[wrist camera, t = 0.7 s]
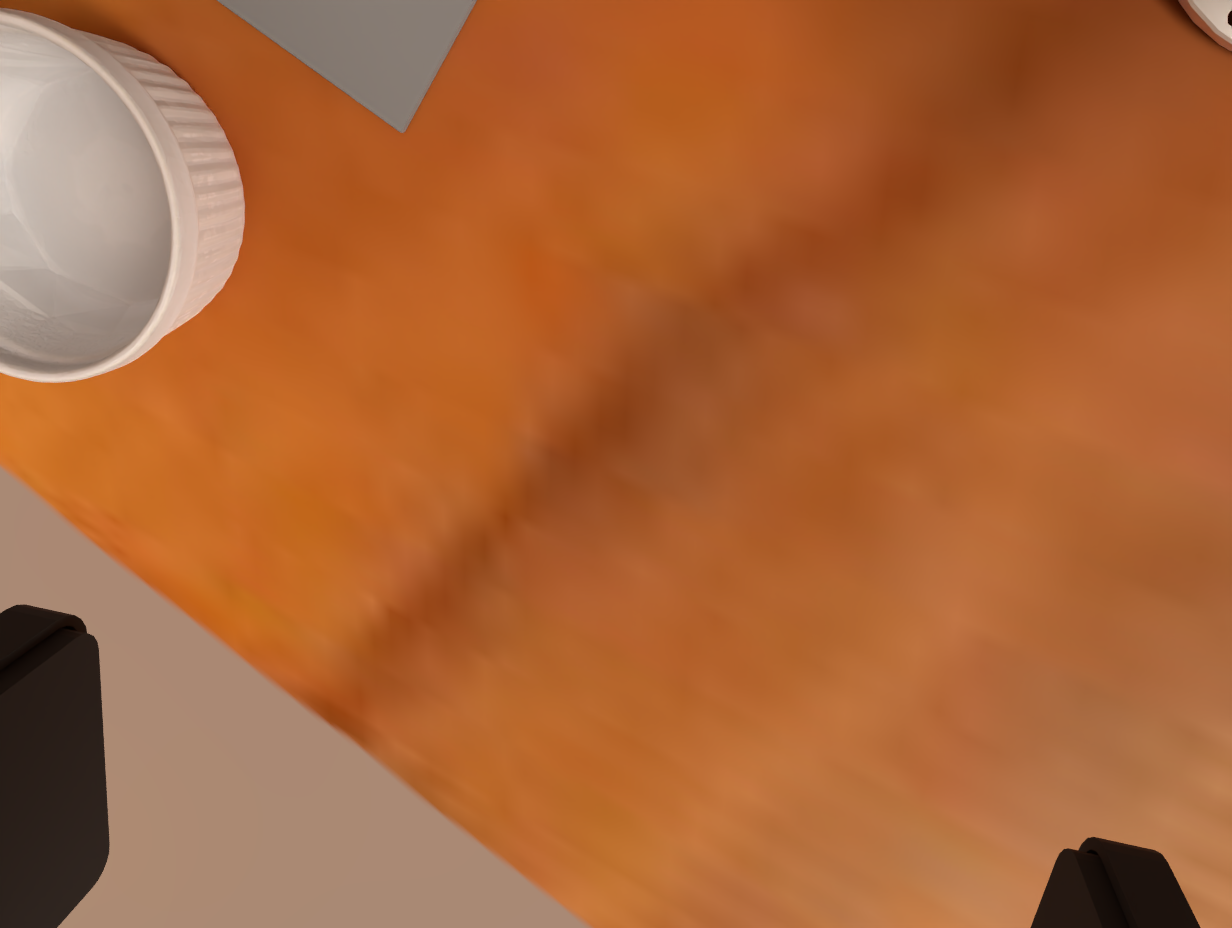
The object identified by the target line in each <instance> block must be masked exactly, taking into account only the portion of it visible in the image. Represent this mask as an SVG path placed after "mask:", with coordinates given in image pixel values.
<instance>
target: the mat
mask: <svg viewBox="0 0 1232 928" xmlns="http://www.w3.org/2000/svg"><path fill="white" fill-rule="evenodd" d="M217 1H219V2H220V3H221V4H223V5H224V6H225V7H227V8H228V9H230V10H231V11H232V12H234V13H235V14H237V15H238V16H239V17H241V18H242V19H244V20H245V21H246V22H248V23H249V24H251V25H252V26H253V27H255V28H256V29H257V30H259V31H260V32H262V33H263V34H264V35H266V36H267V37H269V38H270V39H271V40H273V41H274V42H276V43H277V44H278V45H280V46H281V47H282V48H284V49H285V50H287V51H288V52H289V53H291V54H292V55H294V56H295V57H296V58H298V59H299V60H301V61H302V62H303V63H305V64H306V65H308V66H309V67H310V68H312V69H313V70H314V71H316V72H317V73H319V74H320V75H321V76H323V77H324V78H326V79H327V80H328V81H330V82H331V83H333V84H334V85H335V86H337V87H338V88H339V89H341V90H342V91H344V92H345V93H346V94H348V95H349V96H351V97H352V98H353V99H355V100H356V101H358V102H359V103H360V104H362V105H363V106H364V107H366V108H367V109H369V110H370V111H371V112H373V113H374V114H376V115H377V116H378V117H380V118H381V119H383V120H384V121H385V122H387V123H388V124H390V125H391V126H392V127H394V128H395V129H396V130H398V131H399V132H401V133H402V132H405V131H406V129H407V127H408V125H409V123H410V121H411V120H412V118H413V116H414V114H415V112H416V110H417V109H418V107H419V105H420V103H421V101H422V100H423V98H424V96H425V94H426V92H427V90H428V89H429V87H430V85H431V83H432V81H433V79H434V78H435V76H436V74H437V72H438V70H439V68H440V67H441V65H442V63H443V61H444V59H445V57H446V56H447V54H448V52H449V50H450V48H451V47H452V45H453V43H454V41H455V39H456V37H457V36H458V34H459V32H460V30H461V28H462V26H463V25H464V23H465V21H466V19H467V17H468V15H469V14H470V12H471V10H472V8H473V6H474V4H475V3H476V1H477V0H217Z"/></svg>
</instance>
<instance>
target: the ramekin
mask: <svg viewBox="0 0 1232 928" xmlns="http://www.w3.org/2000/svg"><path fill="white" fill-rule="evenodd" d="M244 213H245V202H244V195H243V185H242V181H241V177H240V172H239V167H238V165H237V162H236V159H235V156H234V153H233V150H232V148H231V146H230V144H229V142H228V140H227V138H226V135H225V133H224V130H223V129H222V127H221V126H220V124H219V123H218V121H217V119H216V117H215V115H214V114H213V113H212V111H211V110H210V109H209V108H208V107H207V106H206V104H205V103H204V101H203V100H202V98H201V97H200V96H199V95H198V94H197V93H195V92H194V91H193V90H192V88H191V87H190V86H189V84H188V83H187V82H186V81H185V80H183V79H181V78H180V77H178V76H177V75H176V74H175V73H174V72H173V71H172V70H171V68H169V67H168V66H166V65H164V64H161V63H160V62H158V61H157V60H156V59H155V58H154V57H152V56H151V55H149V54H147V53H144V52H141V51H138V50H137V49H135V48H133V47H131V46H129V45H127V44H125V43H121V42H118V41H115V40H111V39H108V38H105V37H102V36H99V35H95V34H92V33H88V32H84V31H80V30H76V29H72V28H70V27H68V26H66V25H64V24H61V23H59V22H57V21H54V20H51V19H49V18H46V17H43V16H40V15H37V14H34V13H30V12H25V11H20V10H14V9H8V8H0V373H3V374H6V375H9V376H13V377H17V378H21V379H25V380H30V381H36V382H54V383H57V382H71V381H77V380H82V379H87V378H90V377H93V376H97V375H100V374H103V373H106V372H109V371H112V370H114V369H117V368H120V367H122V366H124V365H126V364H128V363H130V362H132V361H134V360H136V359H137V358H139V357H140V356H142V355H143V354H144V353H146V352H147V351H148V350H150V349H151V348H152V347H153V346H154V345H155V344H157V343H158V342H159V340H160V339H161V338H162V337H163V336H165V335H167V334H168V333H170V332H171V331H173V330H174V329H176V328H177V327H179V326H181V325H182V324H184V323H185V322H187V321H188V320H190V319H191V318H193V317H194V316H195V315H197V314H198V313H199V312H200V311H201V310H202V309H203V308H204V306H206V305H207V304H208V303H210V302H211V301H212V300H213V298H214V297H215V295H216V294H217V293H218V292H219V291H220V290H221V289H222V288H223V287H224V284H225V282H226V280H227V279H228V278H229V277H230V275H231V273H232V270H233V267H234V264H235V263H236V261H237V259H238V255H239V249H240V246H241V244H242V241H243V230H244V224H245V216H244Z"/></svg>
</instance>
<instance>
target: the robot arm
mask: <svg viewBox="0 0 1232 928" xmlns="http://www.w3.org/2000/svg"><path fill="white" fill-rule="evenodd" d="M1178 1H1179V3H1180V4H1181V6H1182V7H1183V8H1184V10H1185V11H1186V13H1187V14H1188V15H1189V17H1190V18H1191V20H1192V21H1193V22H1194V23H1195V24H1196V25H1197V26H1198V27H1200V28H1201V29H1202V30H1203V31H1204V32H1205V33H1206V34H1208V35H1209V36H1210V37H1211V38H1212V39H1213V40H1214V41H1216V42H1217V43H1218V44H1219V45H1220V46H1222V47H1224V48H1226V49H1228V50H1230V51H1232V26H1231V25H1229V24H1228V14H1229V12H1230V11H1231V10H1232V0H1178ZM108 854H109V827H108V809H107V791H106V774H105V757H104V737H103V719H102V700H101V682H100V664H99V648H98V643H97V641H96V639H95V637H94V636H92V635H90V634H87V631H86V626H85V625H84V623H83V621H82V620H81V619H80V618H78V617H77V616H75V615H70V614H66V613H61V612H57V611H52V610H48V609H43V608H38V607H33V606H29V605H16V606H13V607H11V608H9V609H6V610H5V611H3V612H2V613H0V928H57V927H58V926H59V925H60V924H61V923H62V921H63V920H64V919H65V918H66V917H67V916H68V915H69V913H70V912H71V911H72V910H73V909H74V908H75V907H76V906H77V904H78V903H79V902H80V901H81V900H82V899H83V898H84V897H85V895H86V894H87V893H88V892H89V891H90V890H91V888H92V887H93V886H94V885H95V883H96V882H97V881H98V879H99V877H100V875H101V874H102V872H103V870H104V867H105V865H106V862H107V858H108ZM1031 928H1200V926H1199V924H1198V922H1197V920H1196V918H1195V916H1194V914H1193V912H1192V910H1191V908H1190V906H1189V904H1188V902H1187V900H1186V898H1185V896H1184V894H1183V892H1182V890H1181V888H1180V886H1179V884H1178V882H1177V880H1176V878H1175V876H1174V874H1173V872H1172V870H1171V868H1170V866H1169V864H1168V862H1167V861H1166V859H1165V858H1164V856H1163V855H1162V854H1161V853H1159V852H1157V851H1155V850H1151V849H1147V848H1142V847H1137V846H1133V845H1128V844H1124V843H1119V842H1114V841H1110V840H1105V839H1101V838H1096V837H1091V838H1087V839H1086V840H1085V841H1084V842H1083V843H1082V845H1081V846H1080V848H1079V850H1078V851H1077V850H1073V849H1064V850H1063V851H1062V852H1061V853H1060V854H1059V856H1058V858H1057V860H1056V862H1055V865H1054V868H1053V870H1052V873H1051V875H1050V878H1049V881H1048V883H1047V886H1046V889H1045V891H1044V894H1043V897H1042V899H1041V902H1040V904H1039V907H1038V910H1037V912H1036V915H1035V918H1034V920H1033V923H1032V926H1031Z"/></svg>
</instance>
